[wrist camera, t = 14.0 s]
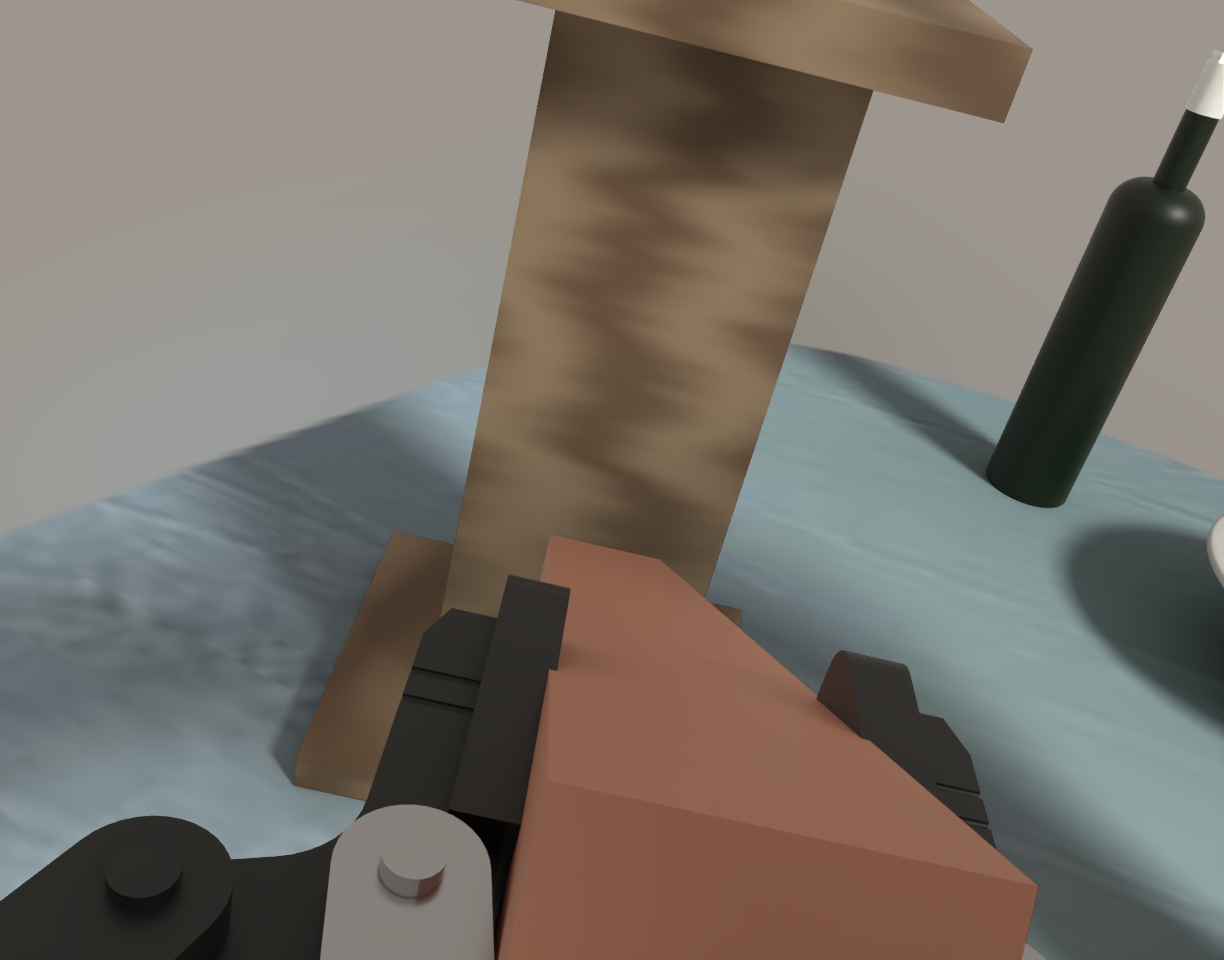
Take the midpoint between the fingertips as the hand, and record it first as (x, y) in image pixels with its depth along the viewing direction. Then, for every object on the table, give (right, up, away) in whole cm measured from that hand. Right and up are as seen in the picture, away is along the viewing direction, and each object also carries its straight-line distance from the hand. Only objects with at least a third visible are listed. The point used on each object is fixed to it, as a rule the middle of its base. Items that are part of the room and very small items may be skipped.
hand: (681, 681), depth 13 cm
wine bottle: (+29, +2, +70) cm, 76 cm away
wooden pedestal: (-4, -8, +40) cm, 41 cm away
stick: (-1, -3, +7) cm, 8 cm away
